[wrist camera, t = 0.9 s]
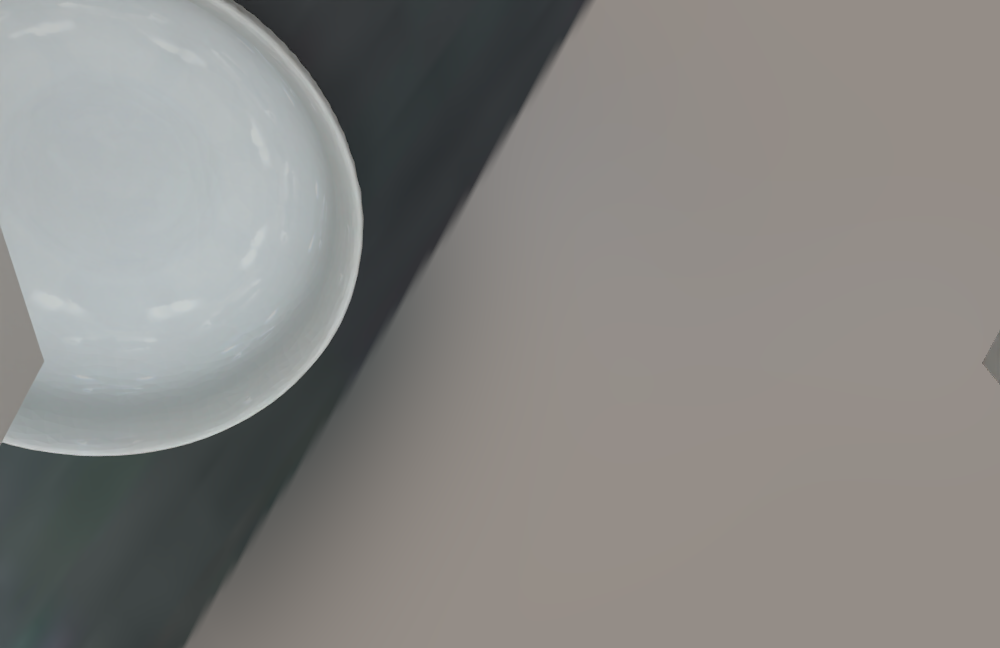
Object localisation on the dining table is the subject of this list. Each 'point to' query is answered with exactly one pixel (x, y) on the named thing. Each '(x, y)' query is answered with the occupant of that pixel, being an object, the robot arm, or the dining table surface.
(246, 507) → the dining table surface
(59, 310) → the cereal bowl
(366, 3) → the dining table surface
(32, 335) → the robot arm
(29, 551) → the dining table surface
